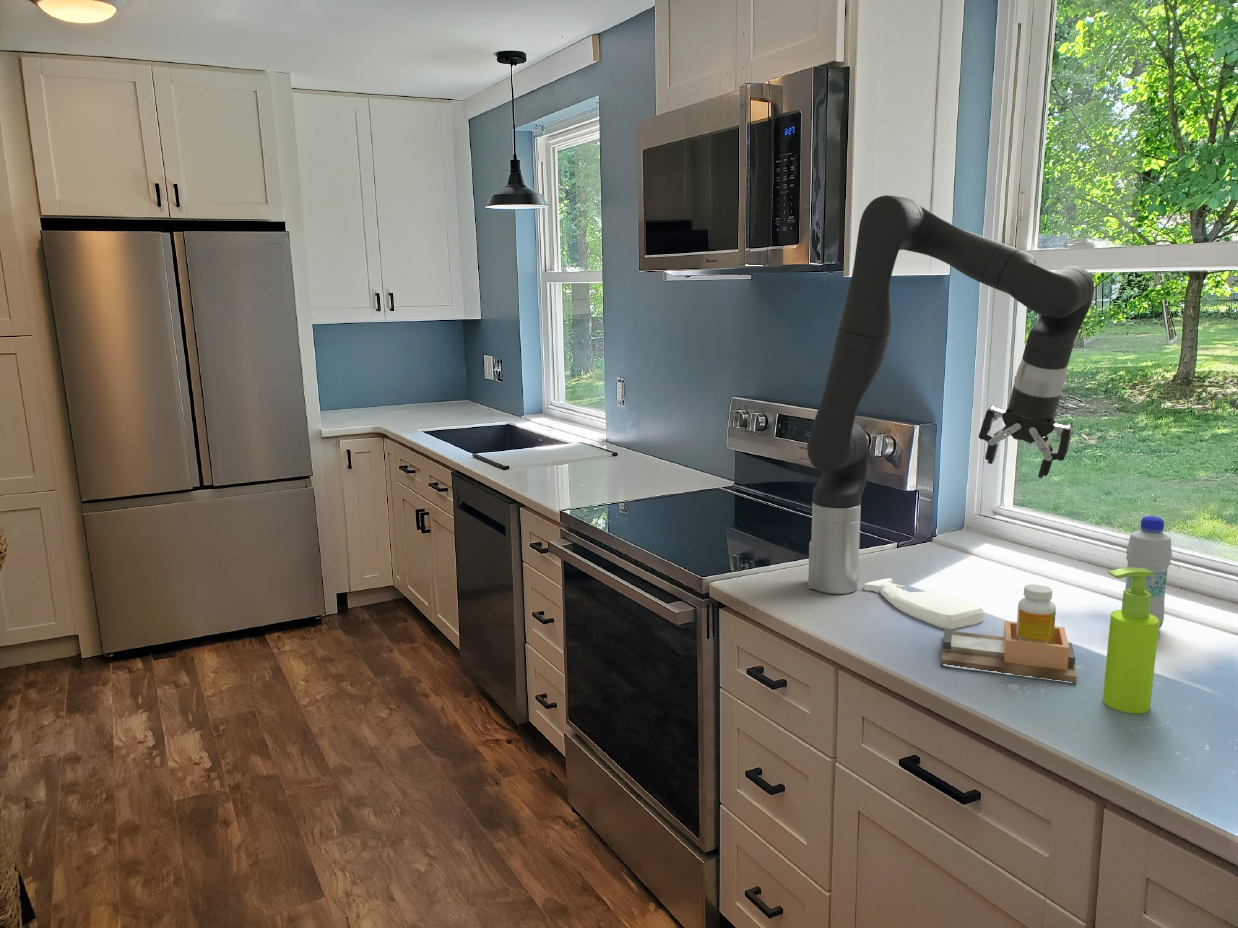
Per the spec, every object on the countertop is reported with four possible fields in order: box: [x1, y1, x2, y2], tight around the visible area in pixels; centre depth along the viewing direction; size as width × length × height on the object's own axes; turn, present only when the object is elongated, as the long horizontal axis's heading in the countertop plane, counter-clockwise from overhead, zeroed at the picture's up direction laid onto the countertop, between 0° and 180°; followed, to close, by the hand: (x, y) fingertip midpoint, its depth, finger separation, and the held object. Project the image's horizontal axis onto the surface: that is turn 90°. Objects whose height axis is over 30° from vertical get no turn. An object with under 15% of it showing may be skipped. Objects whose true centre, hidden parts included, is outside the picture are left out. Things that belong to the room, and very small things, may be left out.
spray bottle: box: [863, 577, 985, 630], centre depth 168 cm, size 3×11×24 cm
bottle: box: [1124, 515, 1173, 631], centre depth 153 cm, size 7×7×20 cm
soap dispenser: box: [1102, 567, 1160, 715], centre depth 125 cm, size 6×7×20 cm
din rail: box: [942, 629, 1076, 667], centre depth 143 cm, size 19×6×2 cm, turn 68°
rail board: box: [941, 630, 1078, 684], centre depth 143 cm, size 19×13×1 cm
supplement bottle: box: [1016, 584, 1057, 644], centre depth 140 cm, size 5×5×10 cm
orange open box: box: [1002, 620, 1069, 670], centre depth 141 cm, size 9×9×4 cm
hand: (1015, 469), depth 159 cm, fingers open, 8 cm apart
